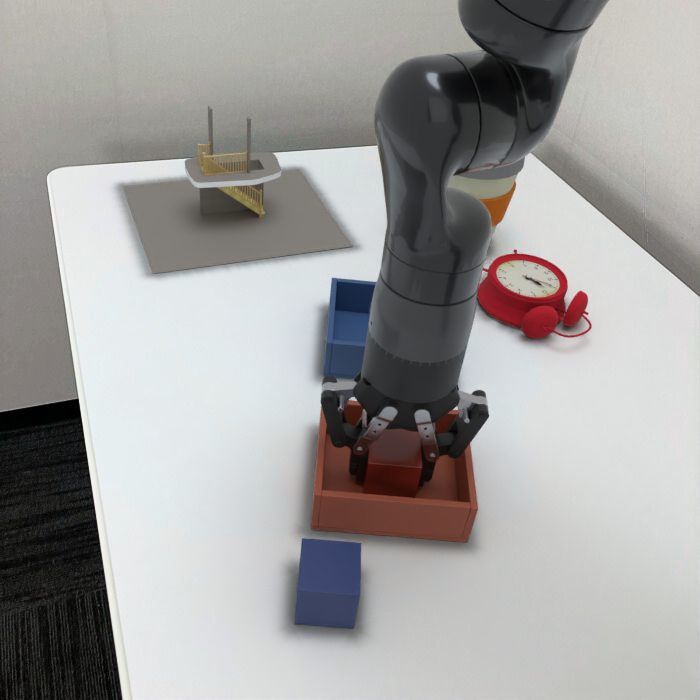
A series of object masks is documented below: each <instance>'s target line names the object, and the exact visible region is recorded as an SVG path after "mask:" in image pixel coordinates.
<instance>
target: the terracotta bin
mask: <svg viewBox="0 0 700 700" xmlns="http://www.w3.org/2000/svg"><path fill="white" fill-rule="evenodd" d="M344 411H345V415H346V419H347V424H350V425H353V426H355V425H356V423H357V422H358V420H359V418H360V417H361V415H362V412H363V407H362V406H361V405H360V404H359V402H358V401H357V400H354V399H353V400H352V399H349V401H348V406H347V407H345V408H344ZM457 414H458V409H453V410H451V411H450V412H449V413H447V414H446V415H444V416H443V417H442V418H440V419H439V420H437V421H436V422H435V424H436V428H437V433H438V434H441V433H446V430H447V429H448V428H449V426H450V425H451V423H452V422H453V420H454V419H455V417H456V416H457ZM317 435H318V436H317V447H316V459H315V468H314V469H315V471H314V483H313V493H312V507H311V518H310V530H314V531H315V530H316V531H327V532H338V533H339V532H341V533H350V534H351V533H352V534H360V535H361V534H362V535H373V536H387V537H398V538H399V537H400V538H410V539H411V538H412V539H424V540H435V541H447V542H457V543H458V542H460V543H468V542H469V538H470V535H471V531H472V529H473V526H474V523H475V521H476V517H477V514H478V512H479V503H478V496H477V487H476V478H475V471H474V470H475V469H474V464H473V463H474V461H473V454H472V447H471V446H472V445H471V443H470V444H469V446H468V447H467V448H466V450H465V451H464V452H463V454H462V455H461V456H460V457H459V458H450V457H449V456H448V455H443V456H440V457H439V459H438V460H436V464H435V468H434V472H433V476H432V479H431V480H430V481H429V482H424V484H423V487H418V488H417V492H416V496H415V498H410V497H398V496H386V495H374V494H363V482H359V481H356V475H350V473H349V458H350V451H351V449H350V448H348V447H346V446H344V447H342V448H336V447H334V446H333V445H332V442H331V438H330V435H329V431H328V428H327V424H326V420H325V417H324V413H323V409H322V406H321V405H320V414H319V424H318V434H317Z"/></svg>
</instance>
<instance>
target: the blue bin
mask: <svg viewBox="0 0 700 700" xmlns="http://www.w3.org/2000/svg"><path fill="white" fill-rule="evenodd" d="M376 282H377V281H371V280H362V279H350V278H340V277H331V282H330V290H329V291H330V292H329V302H328V311H327V325H326V335H325V336H326V337H325V338H326V339H325V347H324V349H325V350H324V361H323V373H322V376H323V377H326V376H333V377H335V378H338V379H339V378H340V379H349V380H354V378H355V376H356V375H357V374H358V373H359V372H360V371H361V369H362V365H363V358H364V351H365V345H366V338H367V331H368V324H369V317H370V316H369V308H370V304H371V302H372V298H373V292H374V289H375V285H376Z"/></svg>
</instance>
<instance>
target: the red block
mask: <svg viewBox="0 0 700 700" xmlns="http://www.w3.org/2000/svg"><path fill="white" fill-rule="evenodd" d="M421 471H422V454H421V441H420V436H419V432H413V431H408V430H404V429H385V430H384V432H383V433H382V434H381V436H380V437H379V439H378V440H377V441H374V442H373V443H372V445H371V446H370V448H369V449H368V459H367V465H366V471H365V477H364V482H363V494H374V495H386V496H398V497H410V498H415V496H416V492H417V488H418V484H419V479H420V475H421Z"/></svg>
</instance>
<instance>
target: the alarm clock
mask: <svg viewBox="0 0 700 700" xmlns="http://www.w3.org/2000/svg"><path fill="white" fill-rule="evenodd" d="M512 252H513V253H507V254H503V255H500V256H498V257H497V258H495V259H493V261H492V262H491V264H489V267H488V269H487V268H484V267H483V271H482V272H486V273H487V275H486V276H485V278H484V279H483V280H482V281H480V283H479V287H478V292H477V300H478V302H479V304H480V306H481V307H482V308H483V310H484V311H485V312H487V314H489V315H490V316H491V317H493V318H494V319H497V320H498V321H500V322H502V323H505V324H507V325H509V326H513V327H517V328H520V329H521V332H522V333H523V335H524V336H526V337H527V338H529V339H534V340H538V339H543V338H546V337H548V336H549V335H551V334H552V333H553V334H555V335H558V336H560V337H562V338H570V339H571V338H578V337H581V336H584V335H585V334H587V333H588V332H590V331H591V329H592V326H593V325H592V322H591V321H590V320H589V318H587V316H588V315H589V314H590V313H589V312H587V311H586V310H587V308H588V304H589V296H588V294H587V293H586V292H584V291H583V290H579V291H578V292H576V294H575V295H574V296H573V297H572V299H571V301H570V303H569V305H568V307H567V305H566V302H565V297H566V294H567V292H568V289H569V285H568V278H567V276H566V274H565V273H564V272H563V271H562V269H561V268H560V267H559V266H557V265H556V264H554V263H553V262H550V261H549V260H547V259H544V258H542V257H540V256H536V255H532V254H528V253H518V250H517V249H513V251H512ZM582 318H583V319H584V320H585V321H586V322H587V324H588V328H586V330H584V331H582V332H579V333H576V334H570V335H569V334H564V333H562V332H558V331H557V330H556V329H557V326H558V323H560V322H562V324H563V325H564V326H566V327H574V326H575V325H577V323H578V322H579V321H580V320H581V319H582Z"/></svg>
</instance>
